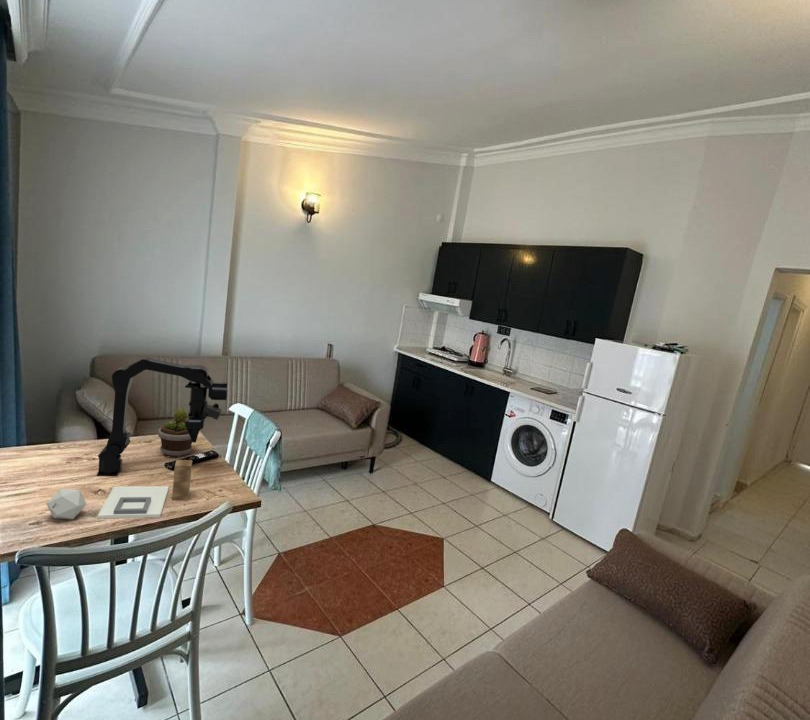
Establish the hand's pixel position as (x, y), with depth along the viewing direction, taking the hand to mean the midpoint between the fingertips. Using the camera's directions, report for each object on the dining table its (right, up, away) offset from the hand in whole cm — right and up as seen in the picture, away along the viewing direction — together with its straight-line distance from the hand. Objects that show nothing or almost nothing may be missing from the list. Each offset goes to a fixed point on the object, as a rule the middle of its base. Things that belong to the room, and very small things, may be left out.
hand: (195, 438), depth 177 cm
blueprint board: (-8, -17, -25) cm, 31 cm away
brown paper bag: (+2, -18, -17) cm, 24 cm away
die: (-22, -17, -38) cm, 47 cm away
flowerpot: (-17, -10, +18) cm, 27 cm away
